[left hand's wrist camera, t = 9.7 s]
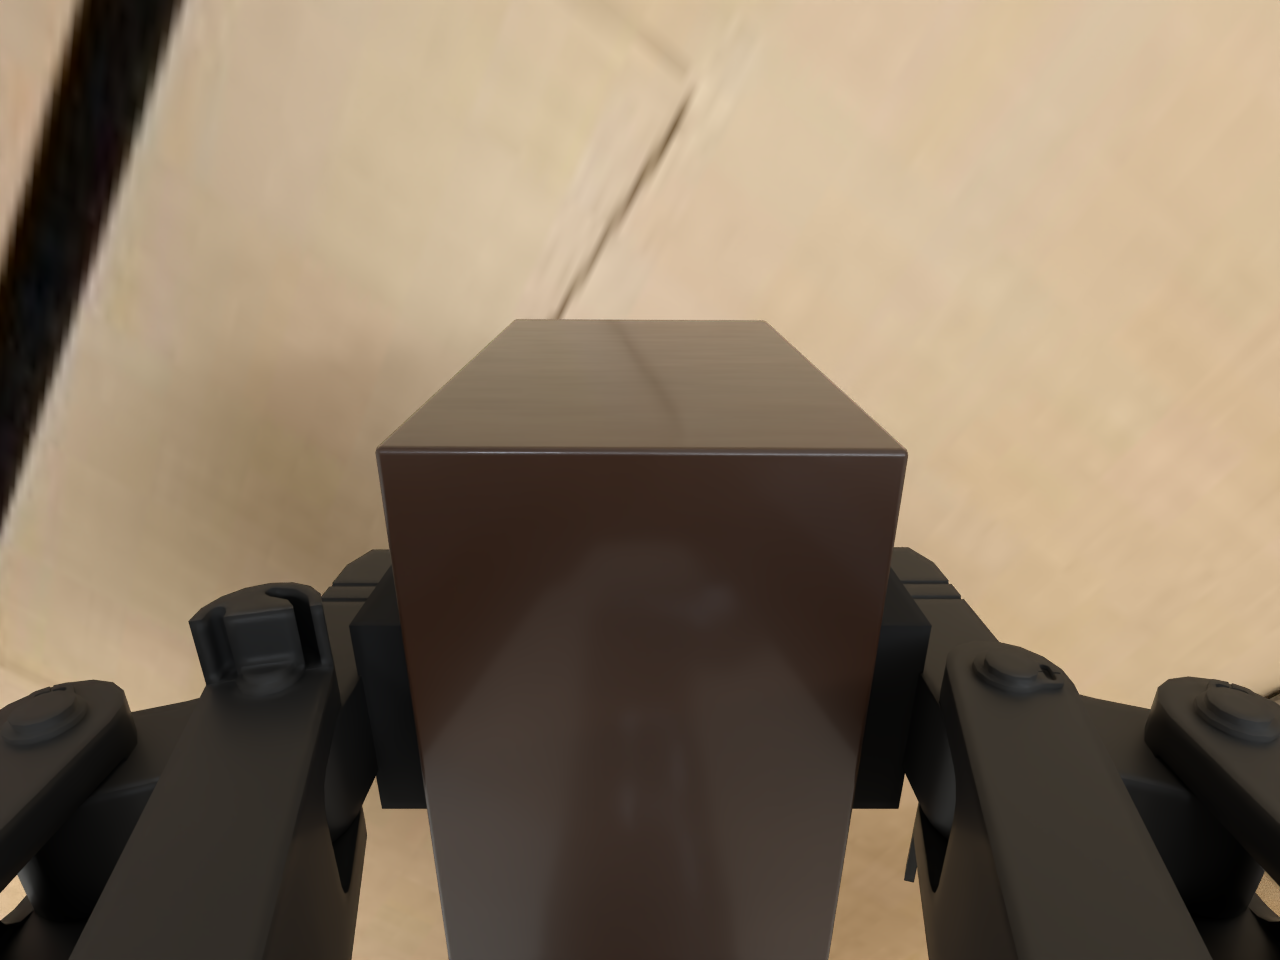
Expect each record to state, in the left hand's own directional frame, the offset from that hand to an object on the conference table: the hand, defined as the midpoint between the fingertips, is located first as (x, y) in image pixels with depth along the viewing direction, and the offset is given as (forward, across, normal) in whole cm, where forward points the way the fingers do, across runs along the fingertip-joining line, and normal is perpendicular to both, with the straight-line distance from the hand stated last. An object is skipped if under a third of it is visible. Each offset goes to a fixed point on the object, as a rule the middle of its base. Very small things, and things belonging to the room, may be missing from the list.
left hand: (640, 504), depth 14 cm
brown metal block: (+1, 0, -10) cm, 10 cm away
